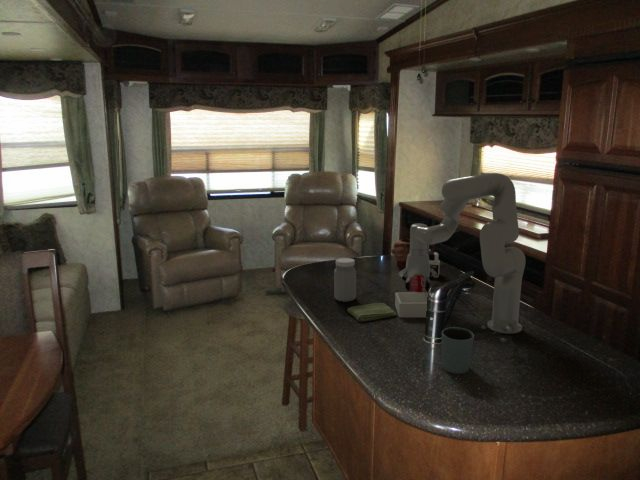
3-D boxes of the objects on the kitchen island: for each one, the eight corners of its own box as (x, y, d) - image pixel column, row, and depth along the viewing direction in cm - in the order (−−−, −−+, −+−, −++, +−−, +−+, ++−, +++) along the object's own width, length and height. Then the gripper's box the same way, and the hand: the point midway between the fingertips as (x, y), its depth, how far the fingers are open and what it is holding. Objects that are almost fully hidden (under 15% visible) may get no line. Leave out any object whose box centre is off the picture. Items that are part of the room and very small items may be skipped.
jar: (359, 300, 236) (360, 261, 232) (339, 303, 232) (339, 264, 228) (350, 294, 244) (350, 256, 240) (330, 297, 241) (330, 258, 237)
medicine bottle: (423, 276, 269) (424, 253, 266) (425, 273, 276) (426, 250, 273) (438, 278, 267) (439, 254, 264) (439, 274, 274) (440, 251, 271)
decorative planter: (420, 261, 298) (421, 236, 295) (430, 266, 287) (431, 241, 284) (387, 263, 293) (387, 239, 290) (395, 269, 282) (396, 244, 279)
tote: (432, 317, 215) (433, 303, 214) (399, 317, 216) (399, 303, 214) (426, 305, 229) (427, 292, 227) (395, 305, 229) (395, 292, 228)
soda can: (424, 296, 241) (425, 270, 238) (425, 301, 234) (426, 275, 231) (408, 295, 241) (409, 270, 239) (409, 301, 235) (410, 274, 232)
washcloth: (398, 317, 217) (398, 310, 216) (359, 324, 211) (359, 316, 210) (383, 307, 229) (383, 300, 228) (345, 312, 223) (345, 305, 222)
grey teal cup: (448, 358, 179) (450, 324, 177) (477, 366, 173) (479, 332, 170) (434, 369, 172) (435, 334, 169) (464, 378, 165) (466, 342, 163)
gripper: (436, 249, 236) (435, 287, 240) (397, 250, 237) (396, 287, 241) (440, 254, 229) (438, 292, 233) (399, 254, 229) (398, 293, 233)
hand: (417, 290), depth 237 cm, fingers open, 7 cm apart
